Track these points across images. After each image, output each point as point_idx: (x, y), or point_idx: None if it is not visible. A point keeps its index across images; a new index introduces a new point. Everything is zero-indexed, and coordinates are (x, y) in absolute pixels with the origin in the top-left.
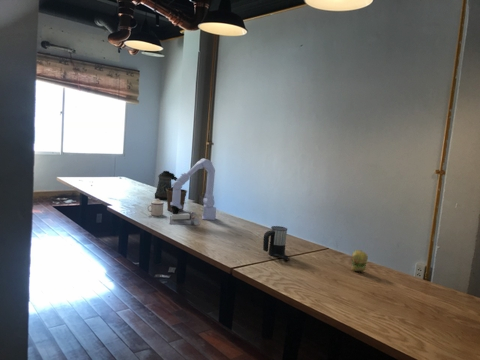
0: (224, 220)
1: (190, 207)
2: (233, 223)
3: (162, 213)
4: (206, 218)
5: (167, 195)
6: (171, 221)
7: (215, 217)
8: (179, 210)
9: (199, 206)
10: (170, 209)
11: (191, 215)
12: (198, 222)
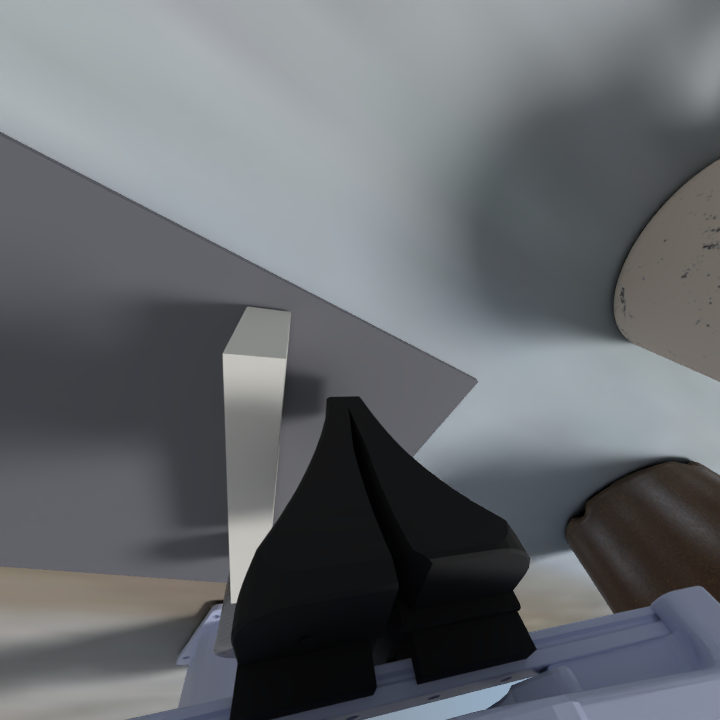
0: (157, 684)
1: (596, 589)
2: (35, 714)
3: (636, 330)
4: (206, 632)
5: None
6: (97, 223)
7: (184, 684)
8: (579, 532)
9: (572, 620)
10: (664, 482)
11: (227, 591)
12: (27, 562)
